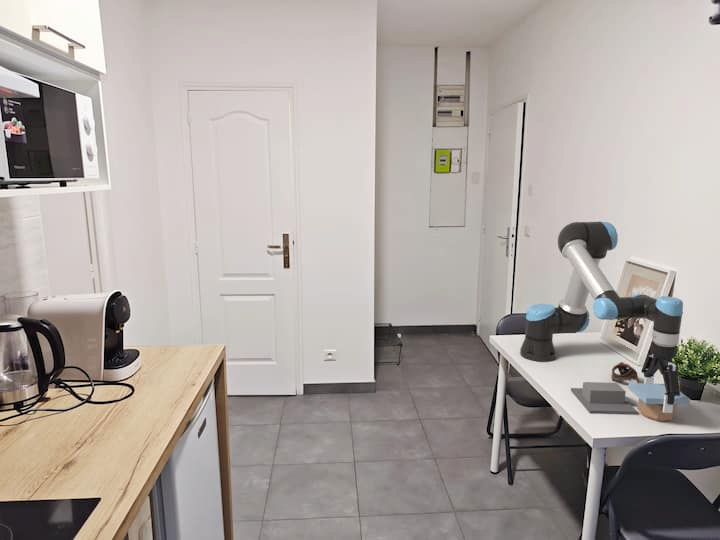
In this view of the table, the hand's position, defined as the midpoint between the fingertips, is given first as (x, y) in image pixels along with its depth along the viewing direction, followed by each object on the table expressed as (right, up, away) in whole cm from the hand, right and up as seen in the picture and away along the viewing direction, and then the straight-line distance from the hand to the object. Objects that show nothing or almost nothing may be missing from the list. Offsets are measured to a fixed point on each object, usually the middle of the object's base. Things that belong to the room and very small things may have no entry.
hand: (656, 403), depth 165 cm
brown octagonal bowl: (0, -4, +1) cm, 4 cm away
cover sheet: (0, +2, -1) cm, 3 cm away
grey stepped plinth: (-13, -2, +10) cm, 17 cm away
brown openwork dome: (+4, +1, +29) cm, 29 cm away
